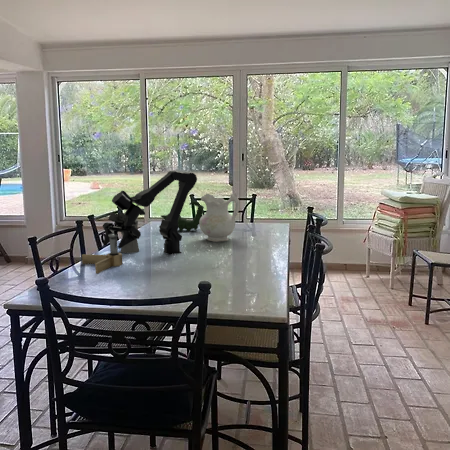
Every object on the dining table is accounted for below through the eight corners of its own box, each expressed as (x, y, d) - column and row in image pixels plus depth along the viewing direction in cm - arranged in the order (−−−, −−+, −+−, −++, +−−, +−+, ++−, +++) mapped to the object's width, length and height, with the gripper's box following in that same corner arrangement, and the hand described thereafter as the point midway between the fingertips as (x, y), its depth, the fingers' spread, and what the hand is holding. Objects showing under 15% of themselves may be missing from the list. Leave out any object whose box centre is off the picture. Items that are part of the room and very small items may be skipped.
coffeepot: (144, 252, 214) (143, 214, 211) (125, 255, 209) (124, 216, 206) (132, 246, 226) (130, 210, 223) (113, 248, 221) (112, 212, 218)
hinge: (113, 259, 201) (113, 249, 201) (129, 268, 186) (129, 257, 185) (82, 263, 194) (81, 253, 193) (96, 273, 179) (95, 262, 178)
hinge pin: (117, 262, 195) (115, 233, 193) (120, 264, 192) (119, 234, 189) (108, 264, 193) (107, 234, 190) (112, 266, 190) (110, 235, 187)
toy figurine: (202, 232, 273) (161, 228, 273) (205, 200, 269) (163, 197, 270) (200, 235, 263) (158, 231, 264) (203, 202, 260) (160, 198, 261)
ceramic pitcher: (241, 238, 250) (241, 193, 248) (238, 243, 231) (238, 194, 229) (202, 238, 253) (202, 193, 250) (196, 242, 233) (196, 194, 231)
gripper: (104, 203, 196) (85, 232, 190) (134, 207, 186) (114, 238, 179) (119, 219, 204) (101, 247, 197) (149, 223, 193) (130, 253, 186)
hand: (111, 246), depth 190 cm, fingers open, 9 cm apart
